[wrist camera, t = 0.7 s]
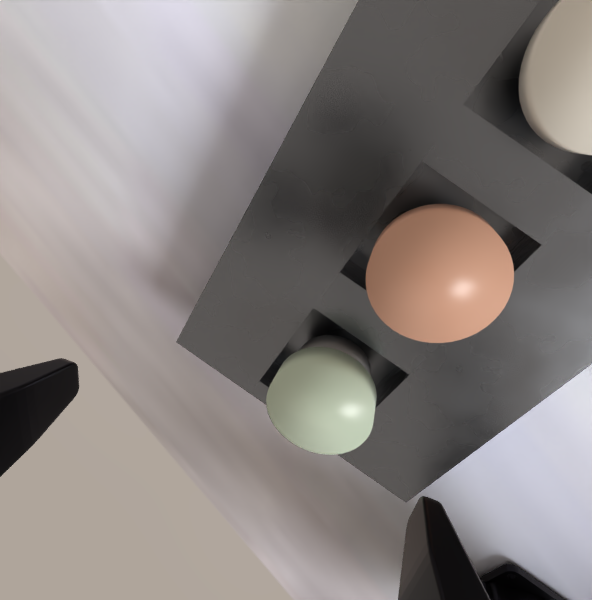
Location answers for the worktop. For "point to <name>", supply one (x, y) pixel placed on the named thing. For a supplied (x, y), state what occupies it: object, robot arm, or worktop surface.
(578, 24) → the button ivory
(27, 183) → the worktop surface
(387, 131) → the console
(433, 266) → the button terracotta
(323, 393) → the button sage
